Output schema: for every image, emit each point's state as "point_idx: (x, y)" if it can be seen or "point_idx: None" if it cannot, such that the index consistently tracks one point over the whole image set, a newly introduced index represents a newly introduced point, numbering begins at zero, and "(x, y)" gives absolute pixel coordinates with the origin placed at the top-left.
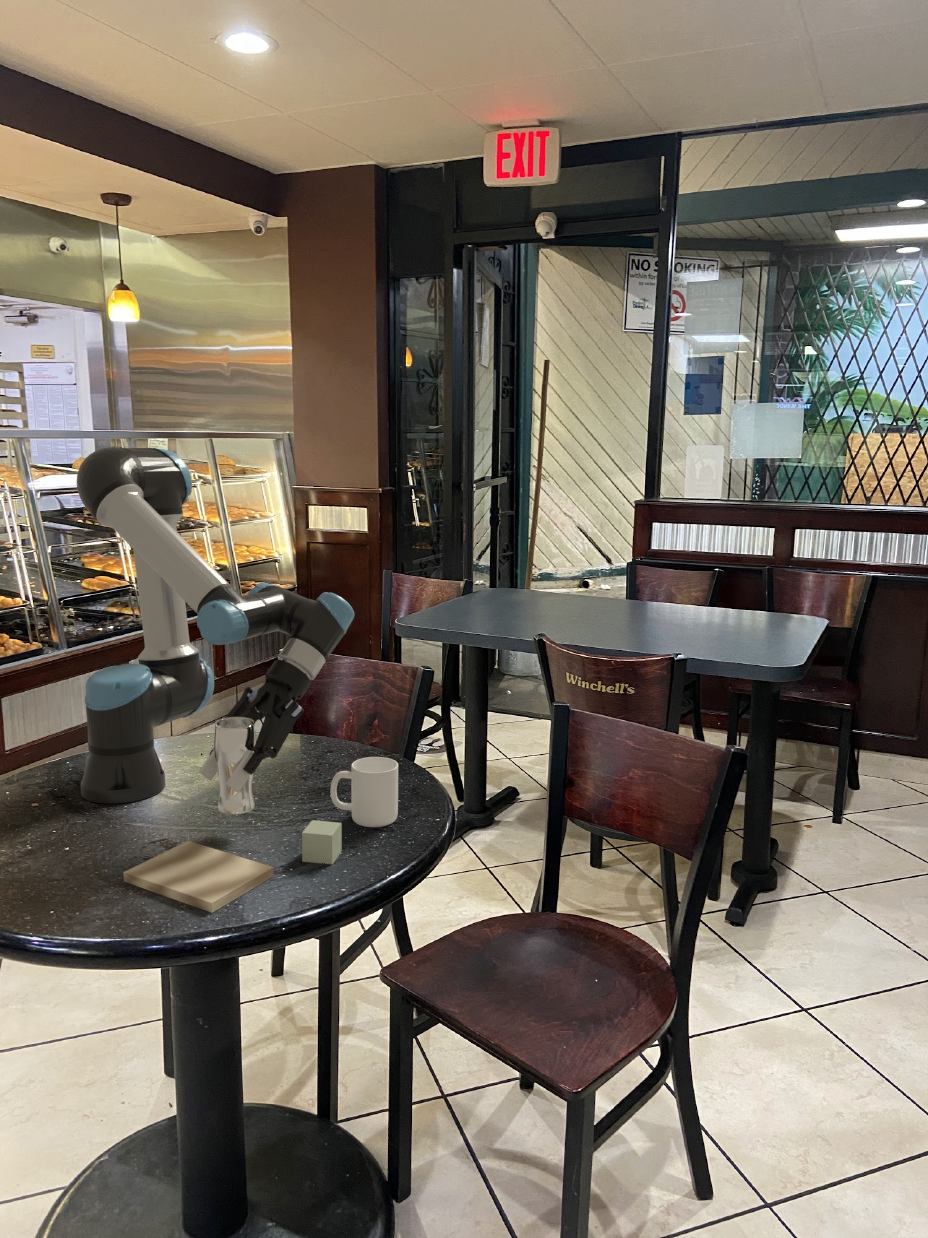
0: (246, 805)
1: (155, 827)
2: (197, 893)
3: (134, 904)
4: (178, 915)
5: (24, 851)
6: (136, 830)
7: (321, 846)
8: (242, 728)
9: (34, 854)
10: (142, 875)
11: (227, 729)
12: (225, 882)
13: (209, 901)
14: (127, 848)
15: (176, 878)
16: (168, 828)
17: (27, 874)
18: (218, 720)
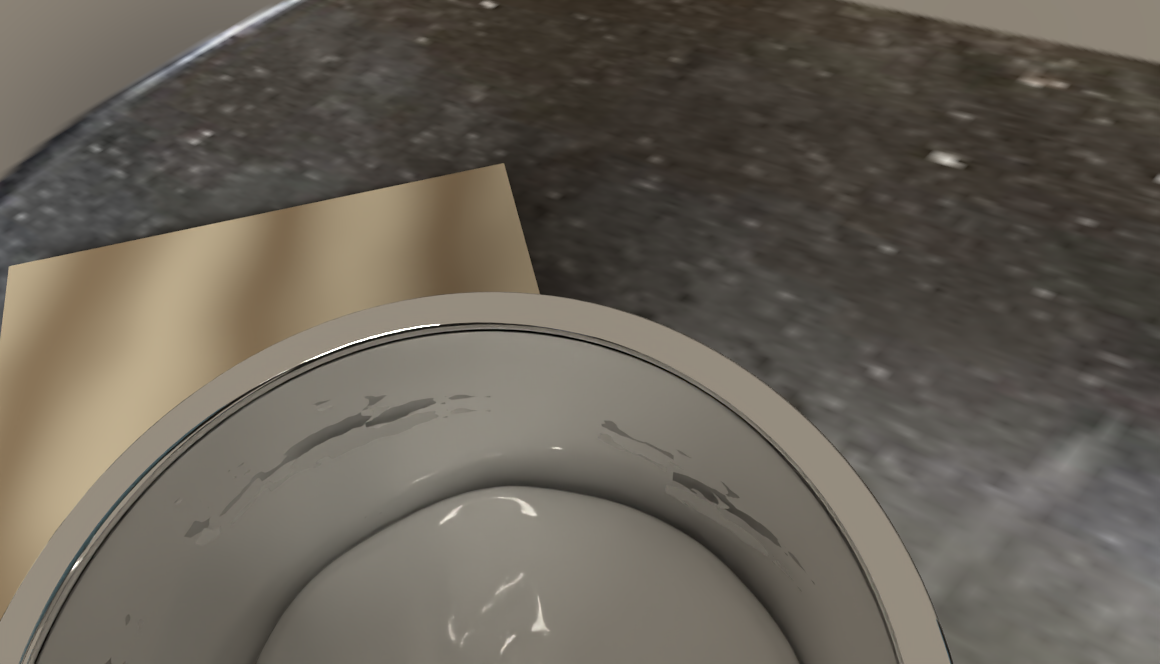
0: None
1: (975, 505)
2: (115, 264)
3: (327, 154)
4: (134, 212)
5: (1005, 63)
6: (987, 419)
7: None
8: (5, 614)
9: (956, 76)
10: (421, 194)
11: (244, 362)
12: (79, 381)
13: (24, 265)
14: (797, 309)
15: (291, 266)
16: (921, 550)
17: (796, 24)
18: (852, 490)
